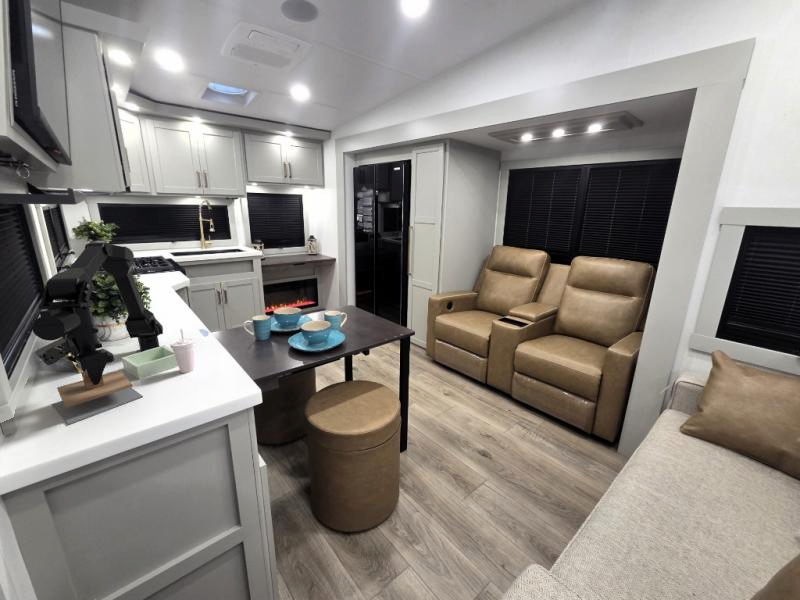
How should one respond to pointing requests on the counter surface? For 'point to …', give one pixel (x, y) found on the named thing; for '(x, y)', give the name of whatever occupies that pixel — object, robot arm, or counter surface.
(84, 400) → the lid
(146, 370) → the dish
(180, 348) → the smoothie
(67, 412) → the mat
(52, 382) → the counter surface
